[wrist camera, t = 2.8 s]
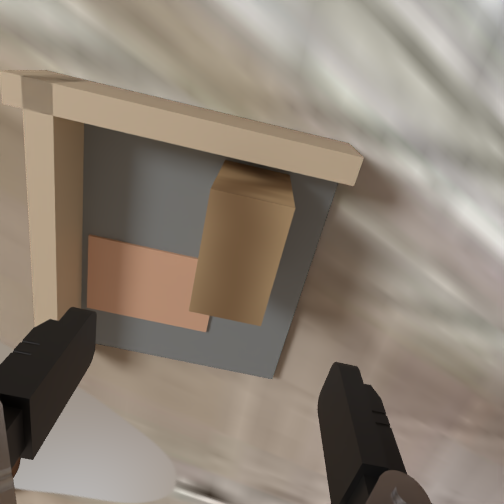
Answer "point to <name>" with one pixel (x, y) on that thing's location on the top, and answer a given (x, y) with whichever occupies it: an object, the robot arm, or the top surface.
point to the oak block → (242, 242)
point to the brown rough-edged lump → (15, 467)
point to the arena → (156, 214)
